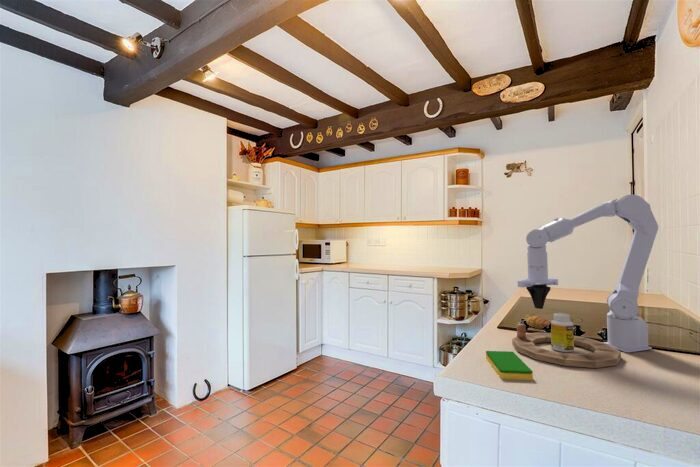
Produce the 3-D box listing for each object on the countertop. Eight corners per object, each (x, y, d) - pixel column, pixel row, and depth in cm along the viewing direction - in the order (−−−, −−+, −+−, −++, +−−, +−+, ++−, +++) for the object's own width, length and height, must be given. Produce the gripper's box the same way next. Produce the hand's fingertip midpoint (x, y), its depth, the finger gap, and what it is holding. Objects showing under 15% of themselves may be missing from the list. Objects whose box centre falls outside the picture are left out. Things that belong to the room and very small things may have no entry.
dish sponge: (513, 360, 90) (513, 351, 90) (533, 382, 76) (533, 371, 76) (485, 359, 91) (485, 350, 91) (500, 380, 77) (500, 370, 77)
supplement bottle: (568, 354, 92) (567, 317, 93) (547, 349, 97) (546, 313, 97) (577, 350, 96) (576, 314, 96) (556, 345, 100) (555, 311, 100)
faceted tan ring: (529, 332, 112) (529, 316, 113) (625, 349, 95) (624, 329, 95) (500, 351, 95) (500, 332, 95) (611, 375, 77) (610, 351, 77)
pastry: (557, 329, 118) (557, 318, 118) (545, 332, 116) (545, 320, 116) (533, 323, 127) (533, 313, 127) (521, 325, 124) (521, 315, 124)
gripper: (545, 264, 115) (546, 304, 115) (510, 266, 111) (511, 307, 111) (563, 266, 108) (564, 308, 108) (526, 268, 104) (528, 311, 104)
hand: (538, 308), depth 109 cm, fingers closed
